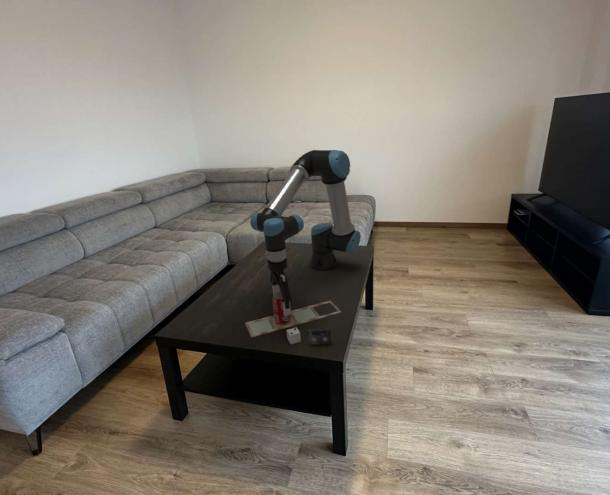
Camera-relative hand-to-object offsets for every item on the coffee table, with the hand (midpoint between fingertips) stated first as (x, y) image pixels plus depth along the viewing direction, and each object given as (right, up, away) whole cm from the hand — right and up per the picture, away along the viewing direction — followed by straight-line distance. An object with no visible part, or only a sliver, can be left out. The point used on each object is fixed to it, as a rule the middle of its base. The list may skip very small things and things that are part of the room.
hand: (282, 306), depth 143 cm
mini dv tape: (+15, -12, -13) cm, 23 cm away
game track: (+5, -6, +4) cm, 8 cm away
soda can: (0, -6, +2) cm, 7 cm away
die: (+5, -11, -10) cm, 16 cm away
